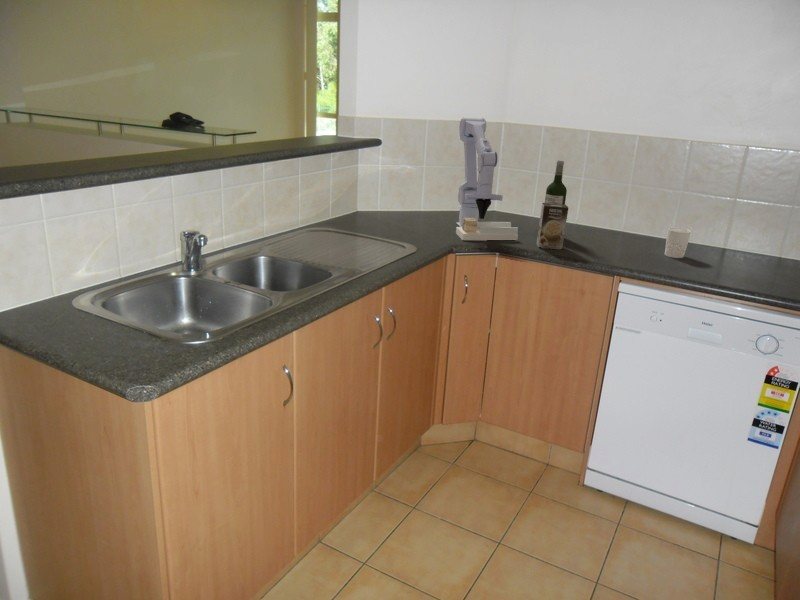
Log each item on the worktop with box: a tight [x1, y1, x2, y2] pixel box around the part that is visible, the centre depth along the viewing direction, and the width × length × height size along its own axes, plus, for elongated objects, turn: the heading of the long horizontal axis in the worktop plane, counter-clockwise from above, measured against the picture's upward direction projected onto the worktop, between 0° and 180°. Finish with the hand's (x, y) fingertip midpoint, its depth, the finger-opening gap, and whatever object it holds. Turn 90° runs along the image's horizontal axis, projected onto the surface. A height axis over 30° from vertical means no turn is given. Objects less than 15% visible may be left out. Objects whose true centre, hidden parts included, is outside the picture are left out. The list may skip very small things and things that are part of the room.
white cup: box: [664, 226, 692, 259], centre depth 237 cm, size 8×8×10 cm
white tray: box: [455, 221, 519, 241], centre depth 250 cm, size 11×22×5 cm, turn 99°
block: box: [462, 218, 477, 232], centre depth 248 cm, size 4×4×4 cm
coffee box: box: [535, 202, 569, 250], centre depth 239 cm, size 9×6×16 cm
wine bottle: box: [544, 159, 568, 205], centre depth 253 cm, size 8×8×30 cm
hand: (481, 218), depth 248 cm, fingers closed
